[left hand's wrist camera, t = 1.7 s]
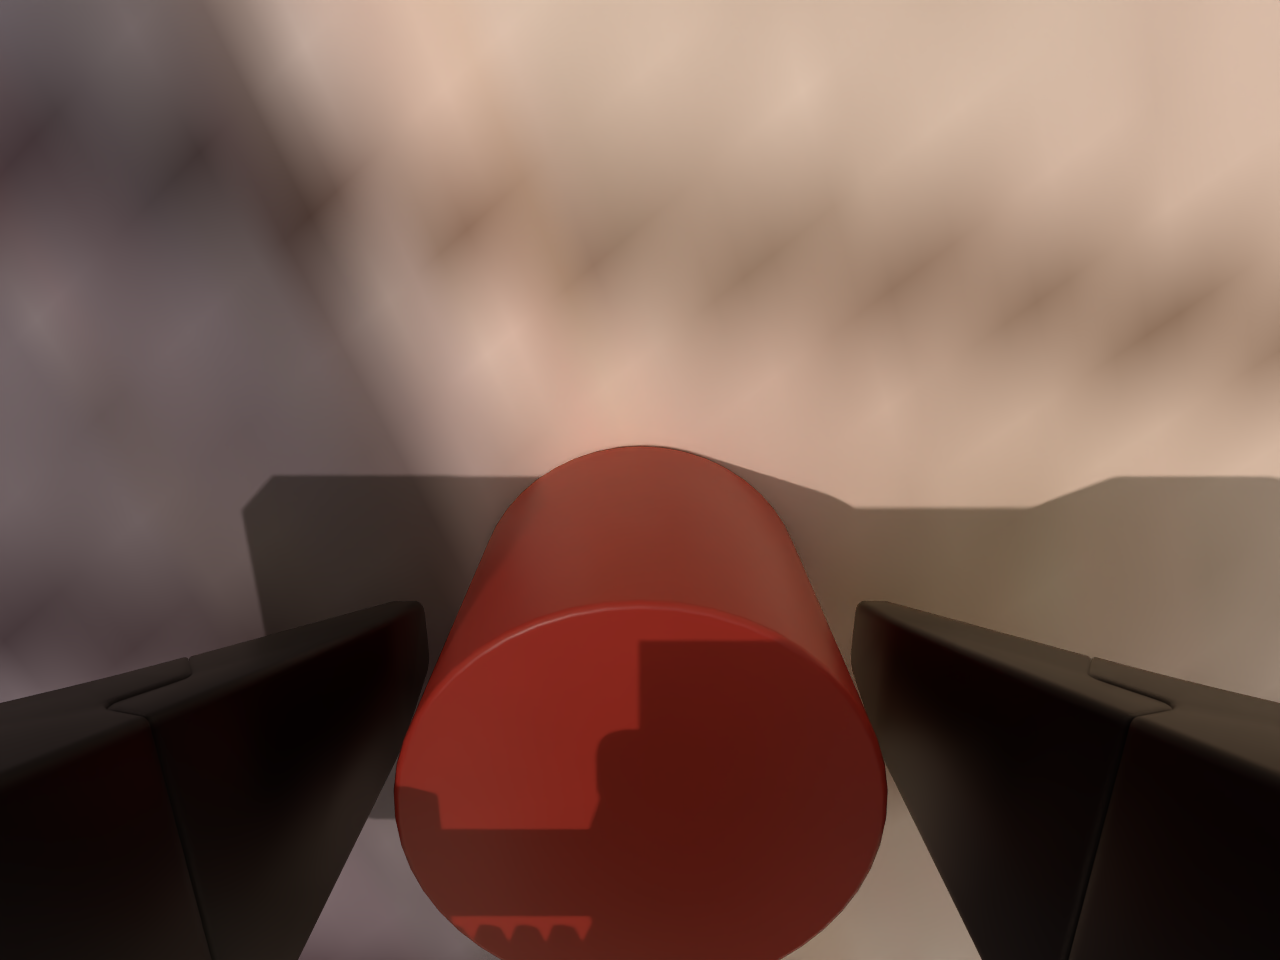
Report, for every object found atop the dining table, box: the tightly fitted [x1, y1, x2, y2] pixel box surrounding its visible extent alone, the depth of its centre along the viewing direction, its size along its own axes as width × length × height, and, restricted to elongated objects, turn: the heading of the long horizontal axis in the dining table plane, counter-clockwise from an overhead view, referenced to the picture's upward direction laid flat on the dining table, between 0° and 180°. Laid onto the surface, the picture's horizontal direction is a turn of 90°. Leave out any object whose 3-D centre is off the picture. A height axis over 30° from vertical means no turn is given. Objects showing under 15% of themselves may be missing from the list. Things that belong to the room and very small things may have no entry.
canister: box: [394, 446, 888, 960], centre depth 10 cm, size 5×5×5 cm
